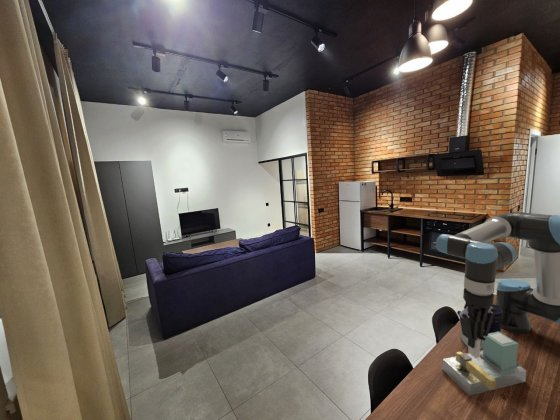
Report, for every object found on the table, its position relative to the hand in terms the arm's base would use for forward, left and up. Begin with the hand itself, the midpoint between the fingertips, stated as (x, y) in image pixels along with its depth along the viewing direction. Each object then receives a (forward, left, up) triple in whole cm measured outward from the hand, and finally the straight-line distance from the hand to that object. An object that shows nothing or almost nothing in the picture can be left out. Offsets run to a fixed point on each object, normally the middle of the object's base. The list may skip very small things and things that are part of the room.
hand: (473, 354), depth 81 cm
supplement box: (-28, -24, -21) cm, 42 cm away
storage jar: (-39, -27, -21) cm, 52 cm away
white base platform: (-16, -9, -21) cm, 27 cm away
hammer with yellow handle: (-7, -5, -15) cm, 18 cm away
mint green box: (-23, -9, -16) cm, 29 cm away
